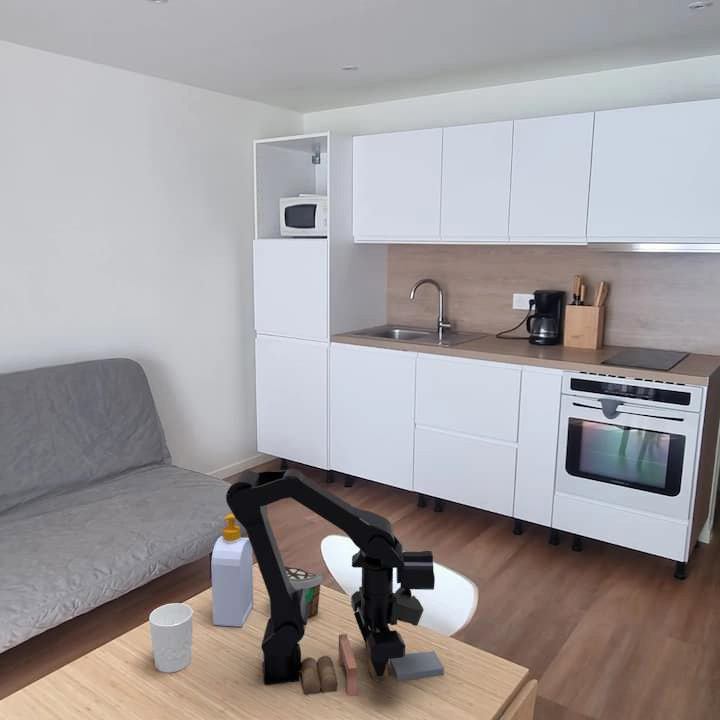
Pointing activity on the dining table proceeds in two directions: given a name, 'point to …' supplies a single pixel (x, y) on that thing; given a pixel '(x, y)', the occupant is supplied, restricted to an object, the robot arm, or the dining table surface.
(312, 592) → the food container
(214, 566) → the soap bottle
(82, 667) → the dining table surface
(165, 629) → the white cup
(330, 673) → the roller
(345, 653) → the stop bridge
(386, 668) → the roller
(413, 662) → the slab
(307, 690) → the roller
